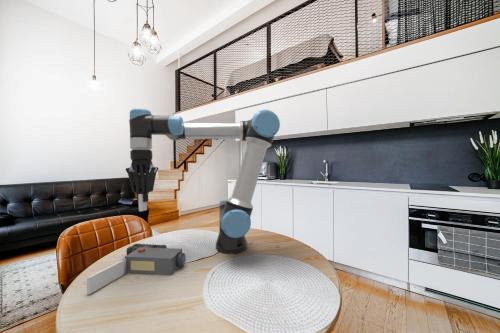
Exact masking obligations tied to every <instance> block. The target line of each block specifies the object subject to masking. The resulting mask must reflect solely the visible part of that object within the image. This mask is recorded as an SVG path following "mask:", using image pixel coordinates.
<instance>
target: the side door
mask: <svg viewBox="0 0 500 333" xmlns="http://www.w3.org/2000/svg"><path fill="white" fill-rule="evenodd" d="M125 275H127V273H126V258H125V257H124V258H122V259H121V260H119V261H117V262H115V263H113V264H111V265H109V266H107V267H104V268H103V269H101V270H99V271H97V272H95V273H93V274H91V275H88V276H87V277H86V294H87V295H91V294H93V293H94V292H96V291H98V290H99V289H101V288H103V287H105V286H106V285H108V284H110V283H111V282H113V281H116V279H117V280H118V279H119V278H120V277H122V276H125Z"/></svg>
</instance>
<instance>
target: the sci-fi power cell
mask: <svg viewBox="0 0 500 333" xmlns="http://www.w3.org/2000/svg"><path fill="white" fill-rule="evenodd" d="M140 247H148V248H168V247H167V245H166V244H153V243H152V244H148V243H146V244H145V243H134V244H133V245H131V246H128V247H127V248H126V250H125V251H126V252H125V253H126V256H127V255H128V254H130V253H132V252H133V251H135V250H136V249H138V248H140Z"/></svg>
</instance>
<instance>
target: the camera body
mask: <svg viewBox="0 0 500 333" xmlns="http://www.w3.org/2000/svg"><path fill="white" fill-rule="evenodd" d="M186 257H187V256H186V253H185V252H183V248H176V247H175V248H174V247H172V248H171V247H167V248H148V247H140V248H138V249H136V250H135V251H133V252H132V253H130V254H128V255H127V254H126V255H125V256H124V258H126V274H136V275H137V274H139V275H160V276H173V275H174V274H175V272H177V270H178V269H179V268H180V267H181V268H182V267H184V265H185V262H186Z"/></svg>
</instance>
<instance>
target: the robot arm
mask: <svg viewBox="0 0 500 333" xmlns="http://www.w3.org/2000/svg"><path fill="white" fill-rule="evenodd" d="M128 123H129V149H130V151H129V152H130V160H131V164H130V166H129V167H126V168H125V172H126V173H127V176H128V179H129V180H128V181H129V184H130V190H131V193H135V194H136V200H137V203H138V212H144V211H147V210H148V202H149V193H151V192H153V191H154V187H155V186H154V185H155V180H156V175H157V172H158V171H159V167H158V166H155V165H153V164H154V163H153V161H152V160H153V151H152V149H153V137H152V136H156V135H157V136H159V135H160V136H162V135H163V136H165V137H167V138H168V139H169V140H171V141H179V140H224V139H225V140H239V141H242V142H245V141H246V142H247V144H246V148H245V150H244V154H243V158H242V161H241V165H240V168H239V169H238V170H239V171H238V173H237V177H236V181H235V184H234V188H233V191H232V193H231V196H230V197H229V198H227V199H223V200H220V202H219V205H218V208H219V211H218V213H219V214H218V215H219V217H218V218H219V219H218V220H219V221H218V222H219V227H218V228H219V229H218V230H219V232H218V235H217V238H216V242H215V250H216V249H217V250H218V251H217V250H216V251H217V252H219V253H222V254H226V255H227V254H230V255H231V254H239V253H242V252H244V251H245V250H247V248H248V241H247V238H246V234H247V233H248V232H249V231H250V229H251V225H252V221H251V220H252V219H251V216H252V213H253V210H254V205H253V204H252V200H253V196H254V193H255V190H256V186H257V183H258V180H259V175H260V172H261V169H262V168H263V167H262V166H263V162H264V159H265V156H266V153H267V149H268V148H270V147H272V145H273V141H274V138H275V135H277V134H278V133H279V130H280V128H281V127H280V126H281V123H280V118H279V116H278V115H277V114H276V113H275V112H274V111H272V110H269V109H261V110H258V111H256V113H254V114H253V116H252V118H251V119H248V120H241V121H239V122H184V119H183V117H182V116H180V115H155V114H154V115H153V114H152V112H151V111H150V110H148V109H146V108H132V109H130V111H129V120H128Z"/></svg>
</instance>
